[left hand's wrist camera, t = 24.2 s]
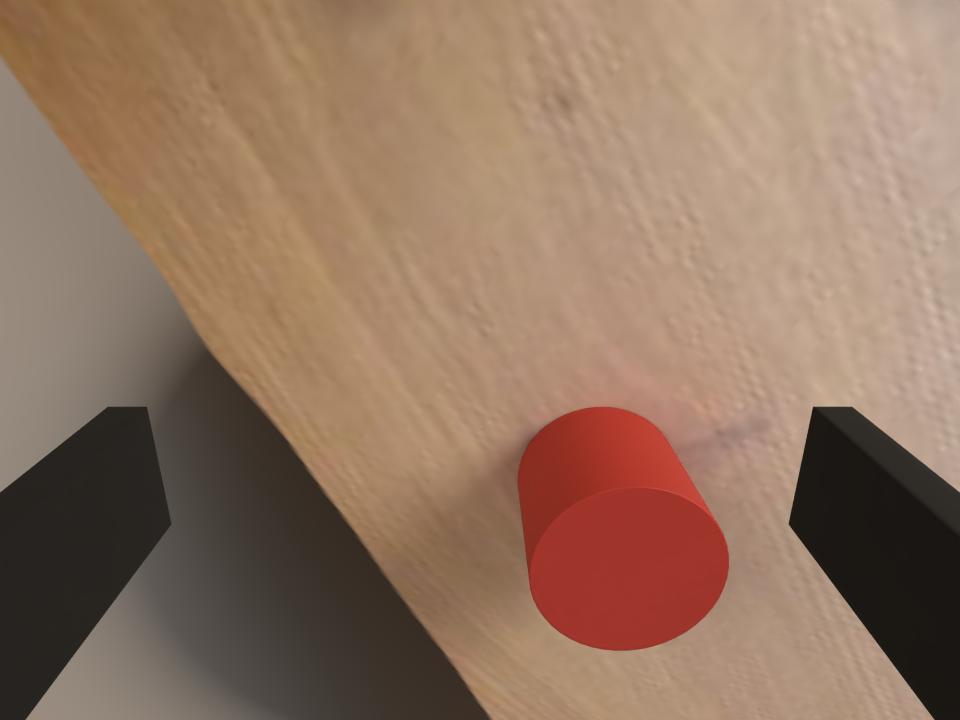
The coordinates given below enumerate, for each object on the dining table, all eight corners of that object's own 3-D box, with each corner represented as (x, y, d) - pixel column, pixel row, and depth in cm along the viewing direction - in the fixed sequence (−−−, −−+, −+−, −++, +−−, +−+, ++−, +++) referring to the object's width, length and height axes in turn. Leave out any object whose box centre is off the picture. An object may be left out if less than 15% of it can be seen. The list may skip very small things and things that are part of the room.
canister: (678, 401, 33) (736, 480, 26) (672, 539, 36) (723, 645, 29) (513, 412, 33) (524, 493, 26) (521, 549, 36) (533, 657, 29)
